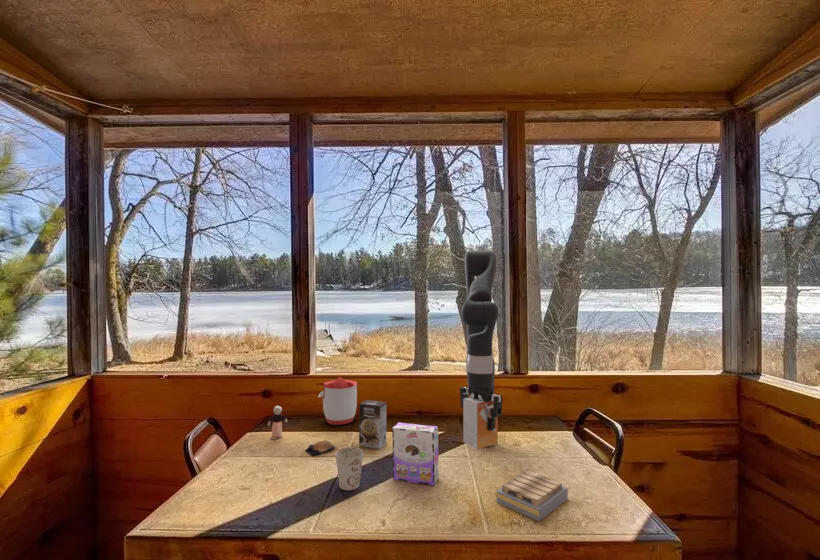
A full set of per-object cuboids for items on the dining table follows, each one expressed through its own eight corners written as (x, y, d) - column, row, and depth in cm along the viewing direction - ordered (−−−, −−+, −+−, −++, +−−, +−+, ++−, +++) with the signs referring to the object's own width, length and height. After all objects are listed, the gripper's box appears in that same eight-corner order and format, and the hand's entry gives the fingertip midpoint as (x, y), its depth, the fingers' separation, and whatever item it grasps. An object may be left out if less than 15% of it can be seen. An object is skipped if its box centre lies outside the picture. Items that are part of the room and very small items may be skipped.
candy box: (439, 477, 127) (438, 425, 127) (434, 486, 121) (433, 432, 121) (398, 471, 131) (398, 421, 131) (392, 479, 125) (391, 427, 126)
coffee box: (358, 446, 152) (358, 403, 152) (366, 440, 158) (366, 399, 158) (379, 449, 149) (379, 406, 149) (387, 443, 155) (387, 401, 155)
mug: (340, 495, 116) (340, 460, 117) (328, 477, 127) (328, 445, 128) (367, 488, 120) (367, 454, 120) (353, 471, 131) (353, 440, 132)
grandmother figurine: (270, 440, 158) (270, 408, 158) (266, 438, 161) (266, 406, 161) (288, 436, 163) (288, 404, 163) (285, 433, 166) (285, 402, 166)
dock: (495, 501, 112) (495, 491, 112) (526, 482, 123) (526, 472, 123) (538, 521, 103) (538, 510, 103) (567, 498, 114) (567, 488, 114)
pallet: (501, 491, 112) (501, 485, 112) (527, 474, 122) (527, 469, 122) (537, 506, 104) (537, 500, 104) (562, 487, 114) (562, 482, 114)
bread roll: (327, 444, 156) (327, 434, 156) (339, 450, 149) (339, 440, 150) (302, 452, 148) (302, 442, 148) (313, 459, 142) (313, 448, 142)
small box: (477, 450, 112) (477, 403, 112) (462, 442, 117) (462, 398, 117) (498, 443, 116) (498, 398, 116) (483, 436, 121) (483, 393, 121)
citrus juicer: (318, 417, 186) (318, 374, 186) (355, 414, 190) (355, 372, 190) (318, 429, 170) (318, 382, 171) (359, 425, 175) (359, 379, 175)
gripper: (453, 368, 120) (453, 423, 119) (492, 375, 109) (493, 437, 109) (469, 364, 125) (469, 418, 124) (508, 371, 114) (509, 430, 114)
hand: (480, 426), depth 116 cm, fingers closed on small box, 6 cm apart
